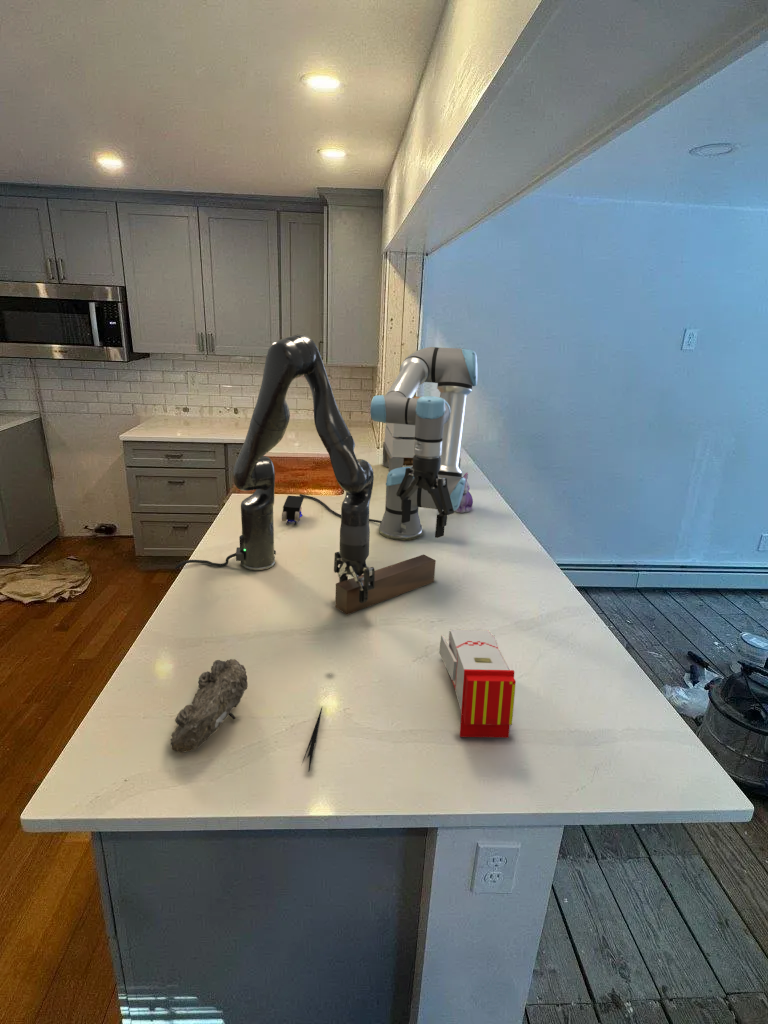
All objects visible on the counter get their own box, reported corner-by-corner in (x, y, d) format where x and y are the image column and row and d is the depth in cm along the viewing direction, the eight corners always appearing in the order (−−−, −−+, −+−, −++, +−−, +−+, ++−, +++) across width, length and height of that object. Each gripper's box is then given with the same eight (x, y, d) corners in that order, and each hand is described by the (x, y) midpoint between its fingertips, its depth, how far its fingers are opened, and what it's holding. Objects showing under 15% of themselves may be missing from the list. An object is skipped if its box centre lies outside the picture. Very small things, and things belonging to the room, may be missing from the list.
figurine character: (300, 531, 202) (304, 512, 215) (299, 512, 198) (304, 494, 212) (281, 530, 201) (287, 511, 215) (280, 511, 198) (286, 493, 211)
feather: (331, 679, 122) (336, 673, 122) (307, 777, 96) (313, 769, 95) (324, 675, 122) (329, 669, 121) (298, 772, 95) (304, 764, 95)
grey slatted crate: (381, 463, 289) (385, 382, 275) (444, 464, 292) (450, 384, 279) (389, 482, 257) (393, 392, 243) (459, 483, 261) (467, 394, 247)
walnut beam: (335, 607, 149) (335, 583, 147) (422, 575, 169) (423, 554, 167) (346, 615, 146) (347, 590, 144) (434, 581, 166) (435, 560, 163)
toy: (489, 613, 130) (525, 677, 101) (485, 667, 133) (518, 744, 104) (437, 612, 130) (457, 676, 101) (434, 666, 133) (453, 743, 103)
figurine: (459, 514, 221) (463, 477, 216) (445, 506, 229) (448, 470, 224) (479, 511, 225) (483, 475, 220) (464, 503, 234) (467, 468, 228)
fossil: (195, 660, 117) (247, 628, 112) (227, 691, 120) (279, 661, 115) (146, 746, 98) (206, 711, 93) (185, 779, 101) (245, 748, 96)
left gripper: (326, 533, 146) (325, 589, 152) (360, 551, 136) (358, 611, 141) (349, 527, 151) (348, 582, 156) (384, 544, 141) (381, 602, 146)
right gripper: (386, 447, 159) (383, 518, 166) (451, 468, 141) (445, 546, 148) (406, 444, 163) (402, 513, 171) (471, 464, 146) (464, 540, 153)
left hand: (353, 595), depth 149 cm, fingers open, 8 cm apart
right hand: (422, 529), depth 159 cm, fingers open, 13 cm apart
